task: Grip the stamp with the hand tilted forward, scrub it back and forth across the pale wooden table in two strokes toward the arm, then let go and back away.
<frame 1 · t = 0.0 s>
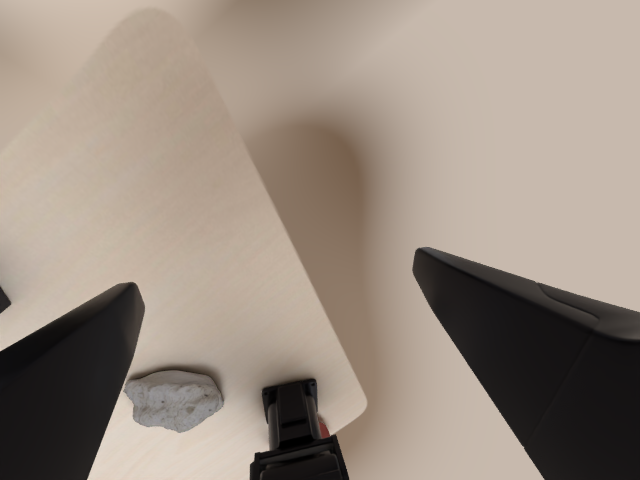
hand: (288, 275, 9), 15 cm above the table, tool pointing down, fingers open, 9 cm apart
stone: (178, 391, 31), on the table
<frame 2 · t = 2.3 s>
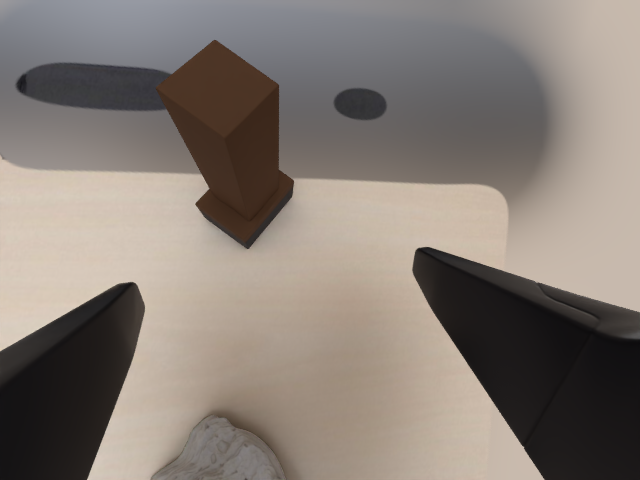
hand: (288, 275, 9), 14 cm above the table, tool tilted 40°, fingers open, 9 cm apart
stamp: (250, 206, 24), on the table
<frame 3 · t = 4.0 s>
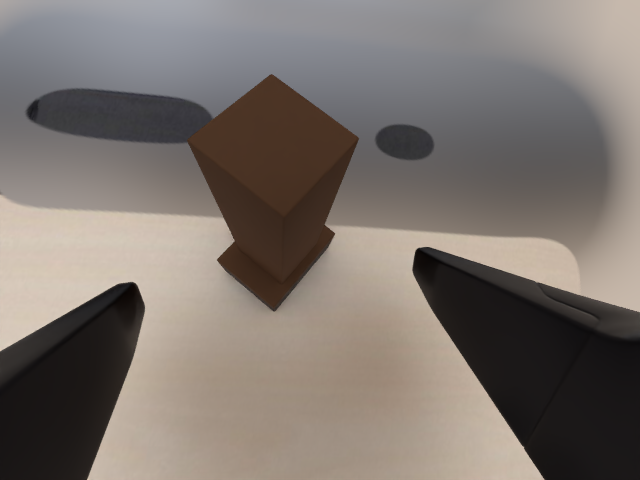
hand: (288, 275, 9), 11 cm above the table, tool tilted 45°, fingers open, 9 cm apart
stamp: (278, 258, 20), on the table
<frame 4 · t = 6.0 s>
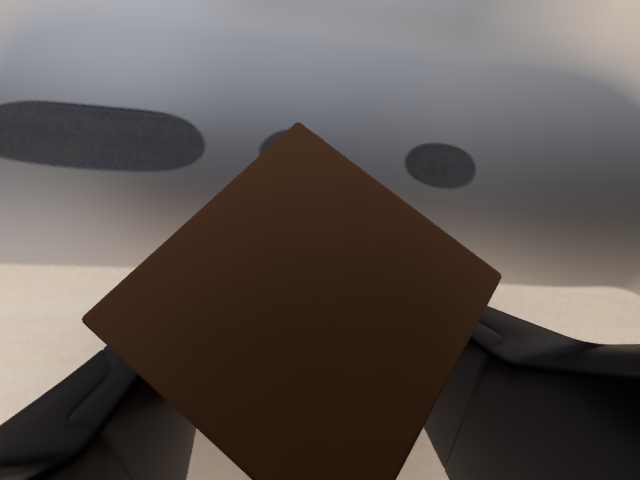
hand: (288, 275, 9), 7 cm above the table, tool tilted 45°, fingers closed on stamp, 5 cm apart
stamp: (287, 325, 15), on the table, touching gripper
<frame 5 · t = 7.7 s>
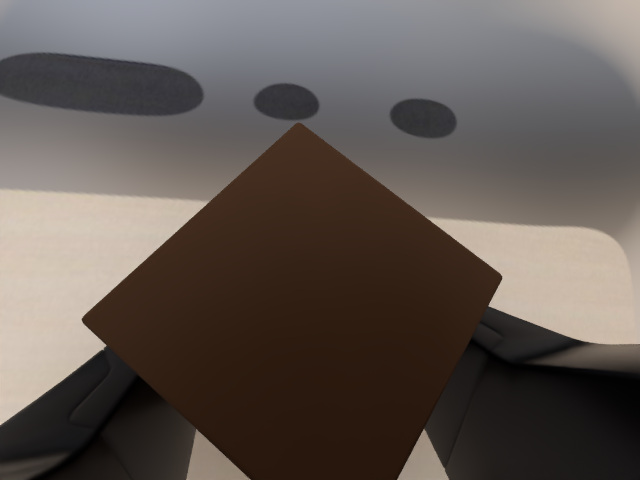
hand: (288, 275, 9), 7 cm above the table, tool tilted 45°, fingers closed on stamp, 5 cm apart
stamp: (287, 325, 15), on the table, touching gripper
when the fingers open (7 cm above the table, at t = 9.9 s): stamp stays where it is, on the table.
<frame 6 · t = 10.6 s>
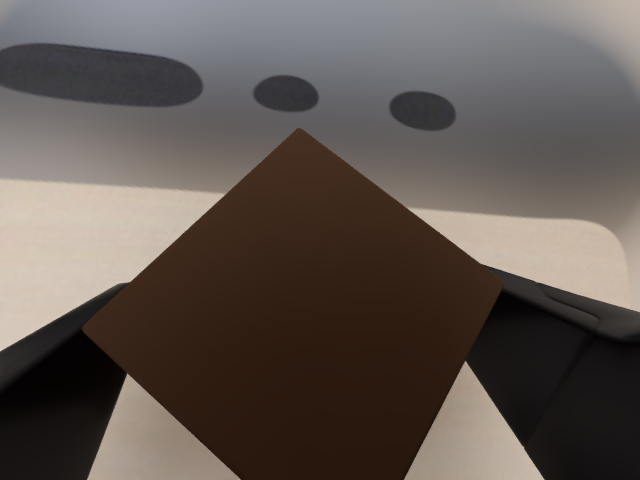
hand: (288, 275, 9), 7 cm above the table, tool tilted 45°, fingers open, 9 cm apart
stamp: (288, 326, 15), on the table
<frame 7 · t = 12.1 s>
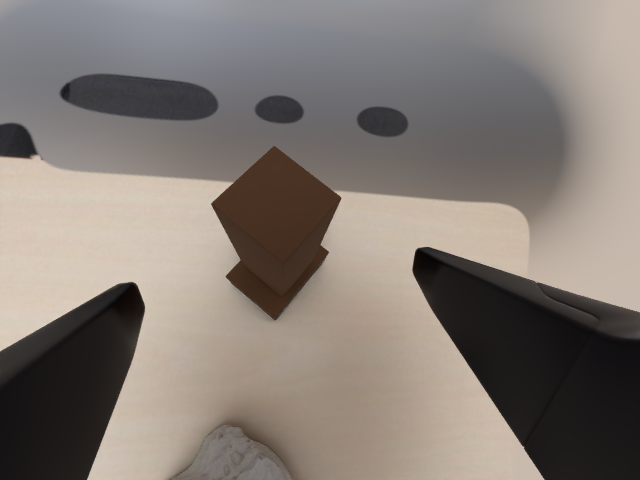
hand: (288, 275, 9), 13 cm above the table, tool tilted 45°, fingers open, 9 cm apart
stamp: (279, 272, 22), on the table
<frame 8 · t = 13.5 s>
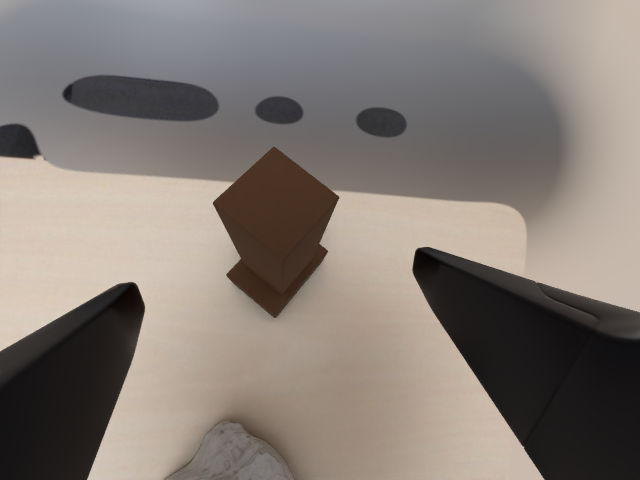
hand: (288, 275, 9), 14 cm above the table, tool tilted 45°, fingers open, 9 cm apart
stamp: (279, 271, 23), on the table
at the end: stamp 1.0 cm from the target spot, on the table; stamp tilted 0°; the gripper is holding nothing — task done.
